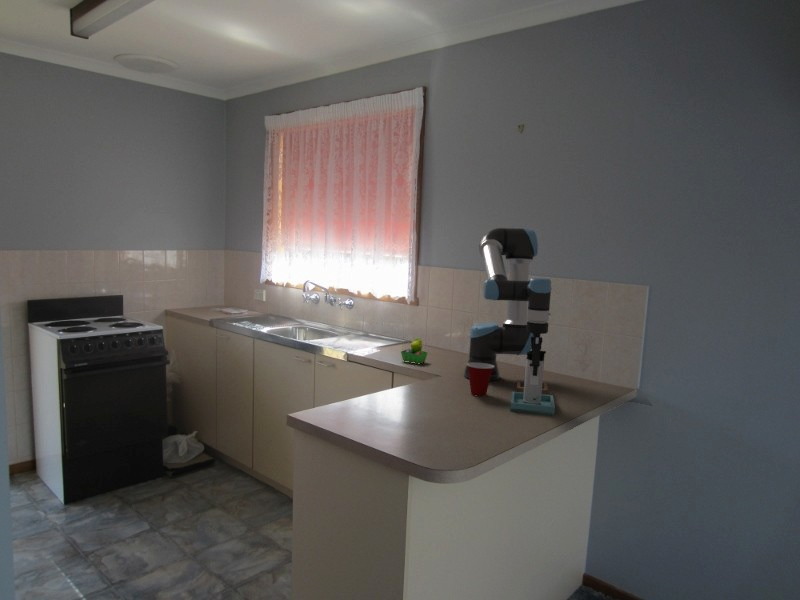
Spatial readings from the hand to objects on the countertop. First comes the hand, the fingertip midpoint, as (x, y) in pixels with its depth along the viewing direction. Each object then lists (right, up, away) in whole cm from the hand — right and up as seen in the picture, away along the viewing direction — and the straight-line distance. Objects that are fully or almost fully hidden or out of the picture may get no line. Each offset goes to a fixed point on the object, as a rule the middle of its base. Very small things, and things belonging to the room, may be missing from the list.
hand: (533, 379), depth 203 cm
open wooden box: (+3, -8, +17) cm, 19 cm away
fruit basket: (-41, -1, +65) cm, 77 cm away
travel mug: (0, -9, +1) cm, 9 cm away
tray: (0, -10, +1) cm, 10 cm away
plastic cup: (-18, -8, +15) cm, 25 cm away
